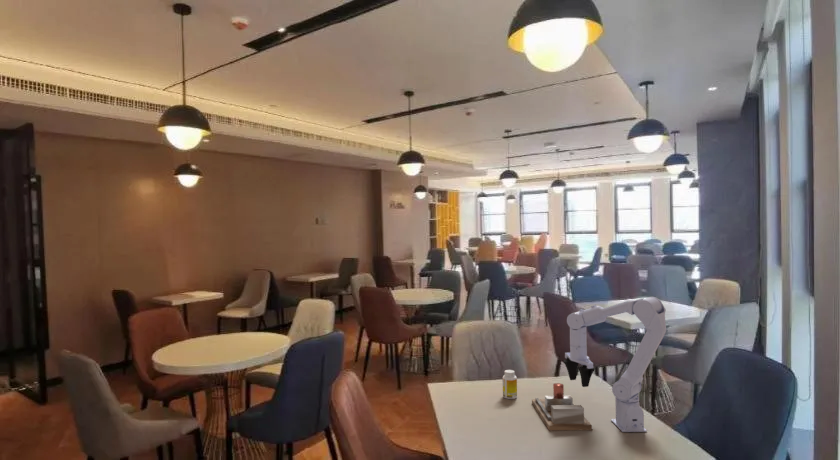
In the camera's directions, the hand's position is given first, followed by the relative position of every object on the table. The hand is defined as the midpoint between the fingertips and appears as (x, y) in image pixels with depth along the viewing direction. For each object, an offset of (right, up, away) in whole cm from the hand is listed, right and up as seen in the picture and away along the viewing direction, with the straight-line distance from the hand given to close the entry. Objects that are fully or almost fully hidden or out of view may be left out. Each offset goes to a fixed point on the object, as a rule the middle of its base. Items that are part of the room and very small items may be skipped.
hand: (579, 383), depth 169 cm
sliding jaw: (-8, -9, -2) cm, 12 cm away
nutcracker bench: (-8, -11, -3) cm, 13 cm away
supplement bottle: (-22, -11, +16) cm, 29 cm away
